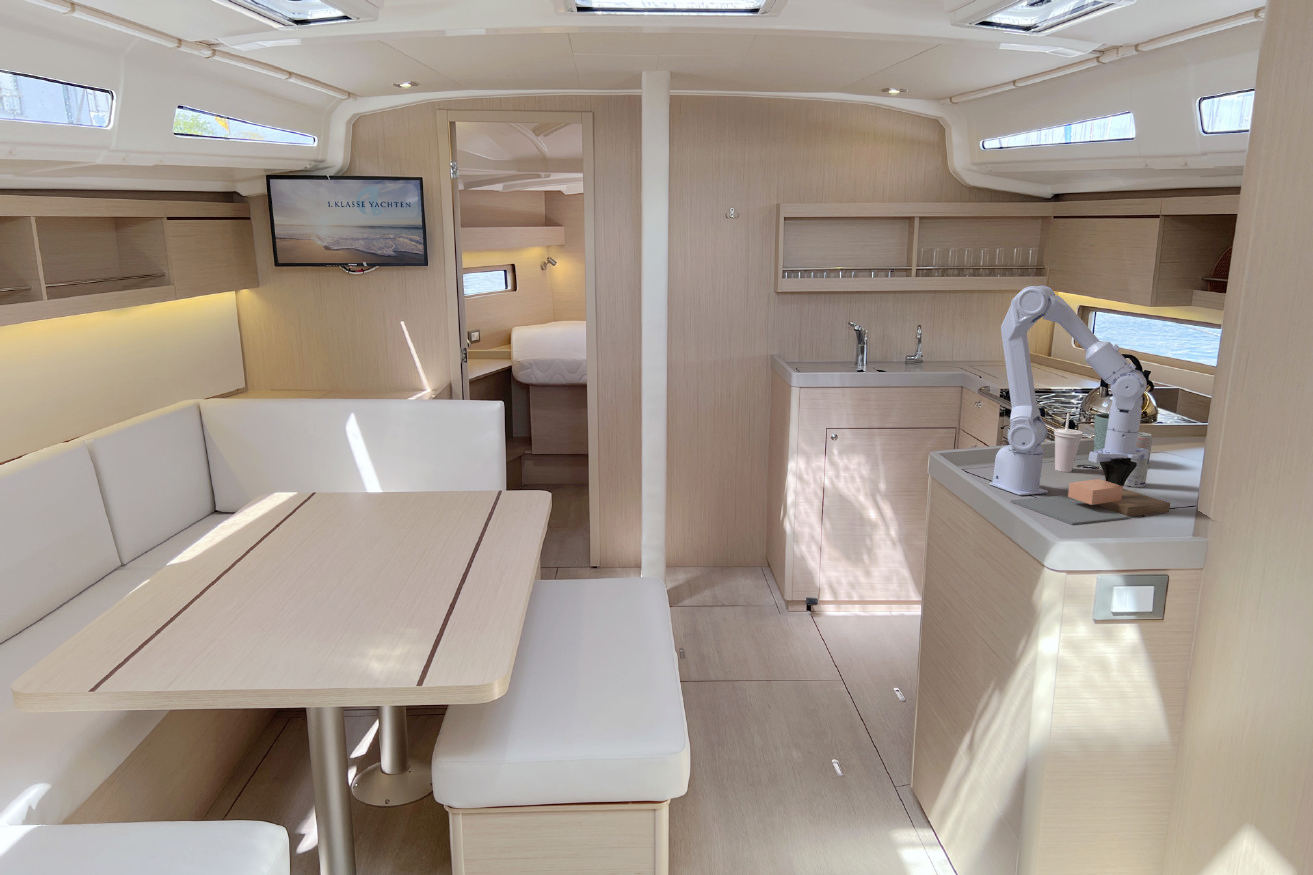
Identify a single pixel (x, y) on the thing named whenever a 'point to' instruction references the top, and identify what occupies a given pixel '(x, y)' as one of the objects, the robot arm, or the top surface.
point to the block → (1095, 491)
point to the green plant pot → (1100, 430)
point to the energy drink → (1140, 462)
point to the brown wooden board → (1136, 504)
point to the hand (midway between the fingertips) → (1113, 494)
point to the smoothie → (1066, 447)
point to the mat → (1069, 509)
